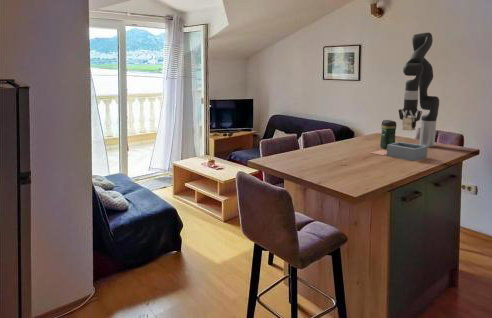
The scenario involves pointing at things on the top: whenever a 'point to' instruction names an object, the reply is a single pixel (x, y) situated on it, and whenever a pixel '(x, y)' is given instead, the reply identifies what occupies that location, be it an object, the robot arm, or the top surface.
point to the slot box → (407, 151)
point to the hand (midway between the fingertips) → (408, 127)
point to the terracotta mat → (380, 152)
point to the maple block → (407, 124)
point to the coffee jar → (387, 133)
